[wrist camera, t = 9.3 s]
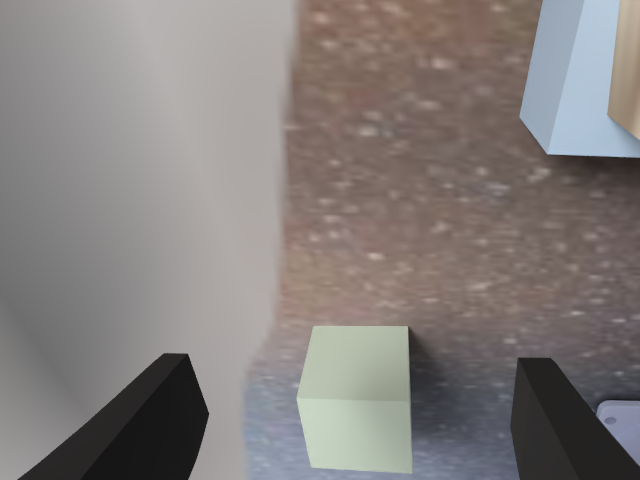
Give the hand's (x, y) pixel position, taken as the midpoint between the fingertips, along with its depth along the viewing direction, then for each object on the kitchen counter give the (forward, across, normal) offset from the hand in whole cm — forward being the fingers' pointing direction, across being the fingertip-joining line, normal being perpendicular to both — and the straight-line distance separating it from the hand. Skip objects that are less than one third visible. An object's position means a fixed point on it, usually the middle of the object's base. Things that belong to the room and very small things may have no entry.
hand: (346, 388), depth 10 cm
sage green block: (+10, +1, +9) cm, 13 cm away
